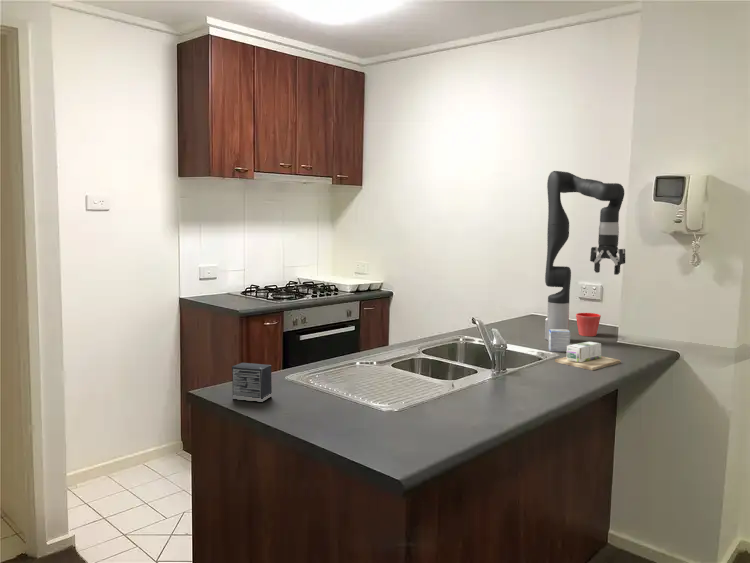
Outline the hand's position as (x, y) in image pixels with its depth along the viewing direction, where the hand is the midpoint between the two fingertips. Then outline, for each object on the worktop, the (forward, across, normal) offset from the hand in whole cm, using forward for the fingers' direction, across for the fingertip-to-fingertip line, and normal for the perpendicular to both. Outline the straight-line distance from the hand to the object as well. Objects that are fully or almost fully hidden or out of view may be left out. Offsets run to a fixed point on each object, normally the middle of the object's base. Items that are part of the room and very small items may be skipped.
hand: (606, 273), depth 250 cm
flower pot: (+33, -24, +26) cm, 48 cm away
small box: (+30, -28, -144) cm, 150 cm away
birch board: (+32, +7, -22) cm, 39 cm away
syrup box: (+28, +6, -15) cm, 32 cm away
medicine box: (+32, -12, -13) cm, 37 cm away
